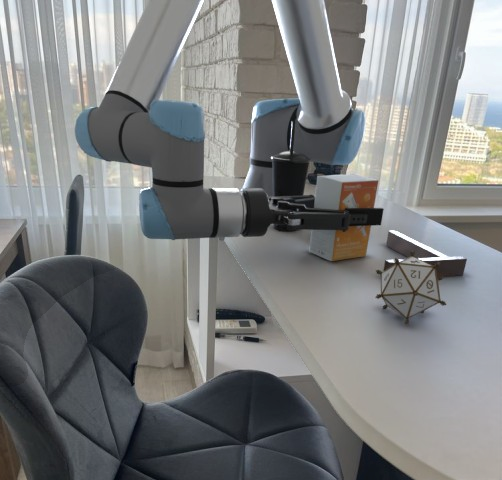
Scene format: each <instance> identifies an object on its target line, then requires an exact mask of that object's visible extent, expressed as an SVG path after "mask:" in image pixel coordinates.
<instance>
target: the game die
mask: <svg viewBox="0 0 502 480" xmlns="http://www.w3.org/2000/svg"><path fill="white" fill-rule="evenodd" d="M414 255H415V252H414V250H412V251H411V256H410V257H406V258H403V259H404V260H402V261H400V262H399V260H398V259H399V258H396V257H395V258H394V259H393V260H394V262H395V263H396V264H395V265H393V266H391V267H390V268H388V269H386V270H385V271H381V270H380V269H375V273H376V274H377V275H380V293H378V294H376V296H374V298H375V299H380V298H382V300H383V302H384V305H383V306H382V310H387V309H388V308H389V309H390V310H392V311H393V312H395V313H396V314H398V315H400V316H401V317H403V318H404V324H405V326H406V327H407V326H408V325H409V324H410V320H409V319H411V318H413V317H415V316H417V315H419V314H424V313H425V311H426V310H429V309H430V308H432V307H434V306H437V305H439V304H440V305H441V306H447V302H446V301H444V300H442V299H441V293H440V286H439V284H440V283H439V281H442V280H443V278H444V277H442V276H438V277H437V272H436V267H438V266H440V262H439V263H437V262H436V264H435V265H434V266H433V265H431V264H428V263H426V262H424V261H422V260H420V259H418V258H416V257H414Z"/></svg>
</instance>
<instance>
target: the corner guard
mask: <svg viewBox="0 0 502 480" xmlns="http://www.w3.org/2000/svg"><path fill="white" fill-rule="evenodd" d="M385 246H386V247H388V248H390V249H391V250H394V251H395V252H397V253H399V254H400V255H403V256H405V257H406V258H408V257H410V256H411V251H412V250H414V252H415V255H414V257H416V258H418V259H420V260H422V261H424V262H426V263H428V264H431V265H433V266H434V265H435V264H436V262H437V263H439V262H440V266H438V267H436V272H437V277H438V276H442V277H443V278H444V277H459V276H464V273H465V269H466V264H467V261H468V259H467V258H466V257H464V256H459V255H458V256H447V255H446V254H443V253H441V252H440V251H437V250H435V249H433V248H432V247H430V246H427V245H425V244H423V243H421V242H419V241H417V240H415V239H413V238H411V237H409V236H407V235H405V234H403V233H400V232H399V231H396V230H388V233H387V237H386V243H385ZM397 259H398V260H399V262H400V261H402V260H404V259H405V258H400V259H399V258H397ZM394 260H395V259H385V260H384V265H383V269H382V270H383V271H385V270H386V269H388V268H390V267H391V266H393V265H395V264H396V263H395V262H394ZM383 271H382V272H383Z"/></svg>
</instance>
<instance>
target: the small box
mask: <svg viewBox="0 0 502 480" xmlns="http://www.w3.org/2000/svg"><path fill="white" fill-rule="evenodd" d="M378 185H379V179H375V178H371V177H367V176H363V175H359V174H356V173H349V174H347V173H346V174H329V175H317V176H316V184H315V195H314V197H315V203H314V208H320V209H334V210H345V208H375V203H376V198H377V191H378ZM371 228H372V226H349V228H348V230H346V232H343V231H342V230H310V240H309V247H308V252H309V253H311V254H314V255H315V256H318V257H320V258H322V259H325V260H327V261H330V262H336V261H342V260H348V259H356V258H365V257H366V256H367V253H368V252H367V251H368V247H369V246H368V245H369V240H370V233H371Z"/></svg>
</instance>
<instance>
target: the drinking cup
mask: <svg viewBox="0 0 502 480" xmlns="http://www.w3.org/2000/svg"><path fill="white" fill-rule="evenodd" d="M295 125H296V122H292V130H291V142H290V151H283V152H280V153H278V154H276V155H274V156H271V160H272V172H273V197H278V196H299V195H305V194H304V193H305V188H306V184H307V183H306V182H307V176H308V171H309V166H310V163H311V159H310V158H308V157H307V156H305V155H304V154H302V153H300V152H296V151H293V149H294V137H295ZM273 229H274V230H277V231H281V232H294V231H296V230H292V231H290V230H287V227H277V226H276V224H273Z"/></svg>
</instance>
